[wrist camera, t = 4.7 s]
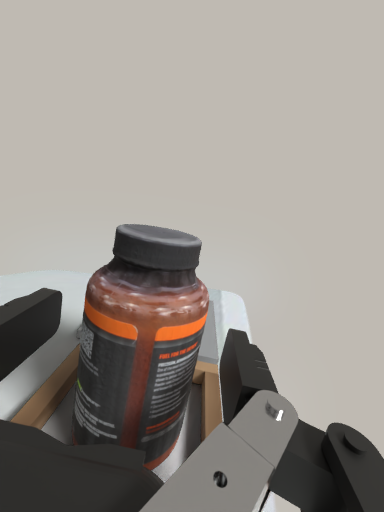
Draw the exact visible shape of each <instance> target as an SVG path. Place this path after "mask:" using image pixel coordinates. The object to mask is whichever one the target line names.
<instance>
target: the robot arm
mask: <svg viewBox="0 0 384 512" xmlns="http://www.w3.org/2000/svg"><path fill="white" fill-rule="evenodd" d="M61 306H62V293H61V292H60V291H57V290H52V289H47V288H42V289H40V290H38V291H36V292H34V293H32V294H30V295H28V296H24V297H20V298H16V299H14V300H12V301H10V302H8V303H6V304H4V306H3V305H2V306H0V381H2V380H3V379H4V378H5V377H6V376H7V375H8V374H10V373H11V372H12V371H13V370H14V369H15V368H16V367H18V366H19V365H20V364H21V363H22V362H23V361H25V360H26V359H27V358H28V357H29V356H30V355H31V354H33V353H34V352H35V351H36V350H37V349H38V348H39V347H41V346H42V345H43V344H44V343H45V342H46V341H47V340H49V339H50V338H51V337H52V336H53V335H54V334H55V333H56V331H57V329H58V327H59V324H60V318H61ZM219 371H220V383H221V395H222V406H223V418H224V422H221V423H220V424H219V425H218V426H217V427H216V428H215V429H214V430H213V431H212V432H211V433H210V434H209V436H208V437H207V438H206V439H205V440H204V441H203V442H202V443H201V444H200V445H199V447H198V448H197V449H196V450H195V451H194V452H193V453H192V454H191V455H190V456H189V457H188V459H187V460H186V461H185V462H184V463H183V464H182V465H181V466H180V467H179V468H178V470H177V471H176V472H175V473H174V474H173V475H172V476H171V477H170V478H169V479H168V480H167V482H166V483H164V482H163V481H162V480H161V479H160V478H159V477H158V476H157V475H156V474H154V473H153V472H152V471H151V470H149V469H147V468H146V467H144V466H143V464H144V459H145V454H146V451H141V450H136V449H132V448H127V447H123V446H118V445H114V444H93V445H73V446H71V445H65V444H63V443H62V442H60V441H58V440H57V439H55V438H53V437H51V436H50V435H48V434H46V433H45V432H43V431H41V430H40V429H38V428H36V427H32V426H27V425H23V424H18V423H14V422H9V421H5V420H0V512H262V511H263V509H264V506H265V504H266V502H267V500H268V498H269V496H270V493H271V491H272V492H274V493H275V494H277V495H279V496H280V497H282V498H284V499H285V500H287V501H289V502H290V503H292V504H294V505H295V506H297V507H299V508H300V510H301V512H384V459H383V457H382V456H381V454H380V453H379V451H378V450H377V449H376V447H375V446H374V445H373V444H372V443H371V442H370V441H369V440H368V439H367V438H366V437H365V436H364V435H362V434H361V433H360V432H358V431H357V430H355V429H353V428H351V427H350V426H347V425H345V424H342V423H332V424H330V425H329V426H328V428H327V430H326V432H324V431H322V430H319V429H317V428H315V427H313V426H311V425H309V424H307V423H305V422H303V421H301V420H300V419H298V414H297V412H296V410H295V408H294V407H293V406H292V404H291V403H290V402H289V401H288V400H287V399H285V398H284V397H283V396H281V395H280V394H279V393H278V391H277V388H276V386H275V383H274V380H273V378H272V375H271V373H270V371H269V368H268V365H267V363H266V360H265V357H264V355H263V353H262V352H261V350H259V348H257V346H256V345H253V344H250V343H249V340H248V337H247V334H246V332H244V331H240V330H235V329H229V331H228V333H227V337H226V341H225V345H224V348H223V352H222V356H221V360H220V369H219Z"/></svg>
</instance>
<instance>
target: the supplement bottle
mask: <svg viewBox="0 0 384 512" xmlns="http://www.w3.org/2000/svg"><path fill="white" fill-rule="evenodd" d="M201 244H202V242H201V240H200V239H199V238H197V237H195V236H193V235H190V234H187V233H184V232H181V231H177V230H172V229H167V228H161V227H155V226H148V225H137V224H124V225H120V226H118V227H117V229H116V236H115V243H114V248H113V254H114V255H115V256H114V258H113V259H112V261H111V262H109V264H107V265H104V266H103V267H102V268H100V269H99V270H97V271H96V272H95V273H94V274H93V275H92V276H91V278H90V279H89V282H88V284H87V290H86V295H85V304H84V312H83V321H82V331H81V340H80V352H79V360H78V369H77V379H76V389H75V400H74V410H73V420H72V439H73V444H74V445H93V444H114V445H118V446H123V447H127V448H132V449H136V450H141V451H146V454H145V459H144V464H143V466H144V467H146V468H147V469H149V470H153V469H154V468H156V467H157V466H158V465H160V464H161V463H162V462H163V461H164V460H165V459H166V458H167V457H168V456H169V454H170V453H171V452H172V450H173V449H174V447H175V445H176V443H177V440H178V437H179V434H180V431H181V428H182V424H183V419H184V415H185V411H186V406H187V401H188V397H189V393H190V388H191V384H192V380H193V375H194V371H195V366H196V363H197V357H198V354H199V349H200V345H201V340H202V336H203V333H204V328H205V323H206V317H207V313H208V306H209V294H208V291H207V288H206V287H205V285H204V284H203V283H202V281H201V280H199V279H198V278H197V277H196V274H195V269H196V267H197V266H198V265H199V255H200V250H201Z"/></svg>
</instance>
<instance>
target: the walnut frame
mask: <svg viewBox="0 0 384 512" xmlns="http://www.w3.org/2000/svg"><path fill="white" fill-rule="evenodd" d="M79 352H80V343H79V344H78V346H77V347H76V348H75V349H74V350H73V351H72V352H71V353H70V355H69V356H68V357H67V358H66V359H65V360H64V361H63V362H62V364H61V365H60V366H59V367H58V368H57V369H56V370H55V371H54V373H53V374H52V375H51V376H50V377H49V378H48V379H47V380H46V382H45V383H44V384H43V385H42V386H41V387H40V388H39V389H38V391H37V392H36V393H35V394H34V395H33V396H32V397H31V398H30V400H29V401H28V402H27V403H26V404H25V405H24V406H23V407H22V409H21V410H20V411H19V412H18V413H17V414H16V415H15V416H14V418H13V419H12V420H11V421H10V422H14V423H18V424H23V425H27V426H32V427H36V428H38V429H40V430H41V429H42V427H43V426H44V424H45V423H46V422H47V420H48V419H49V418H50V416H51V415H52V413H53V412H54V411H55V409H56V408H57V406H58V405H59V404H60V402H61V401H62V400H63V398H64V397H65V395H66V394H67V393H68V391H69V390H70V388H71V387H72V386H73V384H74V383H75V381H76V379H77V369H78V360H79ZM192 383H196V384H201V385H202V394H201V443H202V442H203V441H204V440H205V439H206V438H207V437H208V436H209V434H210V433H211V432H212V431H213V430H214V429H215V428H216V427H217V426H218V425H219V424H220V423H221V422H222V411H221V399H220V387H219V375H218V365H216V364H211V363H206V362H202V361H197V363H196V366H195V371H194V375H193V380H192Z"/></svg>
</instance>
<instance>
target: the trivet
mask: <svg viewBox="0 0 384 512" xmlns="http://www.w3.org/2000/svg"><path fill="white" fill-rule="evenodd" d="M81 331H82V326H81V327H80V328H79V329H78V331H77V338H80V339H81ZM218 360H219V358H218V348H217V337H216V326H215V316H214V305H213V301H210V300H209V306H208V313H207V317H206V323H205V328H204V333H203V336H202V340H201V345H200V349H199V354H198V357H197V361H202V362H206V363H211V364H216V365H217V364H218Z"/></svg>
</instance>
